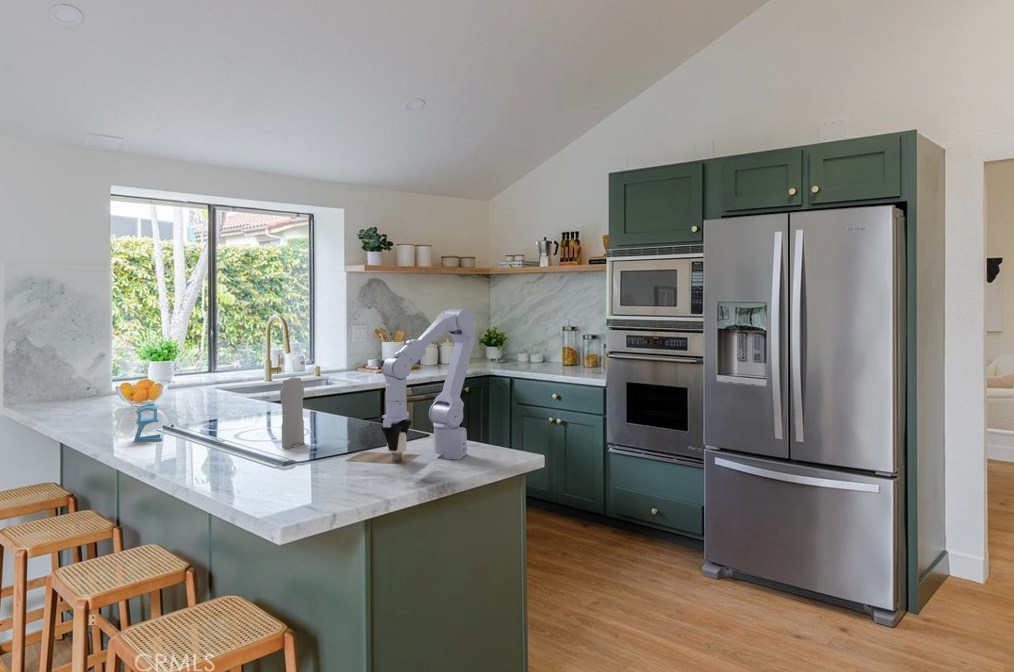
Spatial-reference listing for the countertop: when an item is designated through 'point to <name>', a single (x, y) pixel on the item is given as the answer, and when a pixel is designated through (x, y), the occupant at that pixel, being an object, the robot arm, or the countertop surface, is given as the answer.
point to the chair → (145, 421)
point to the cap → (400, 443)
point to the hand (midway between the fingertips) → (396, 448)
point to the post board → (383, 457)
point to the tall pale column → (292, 412)
